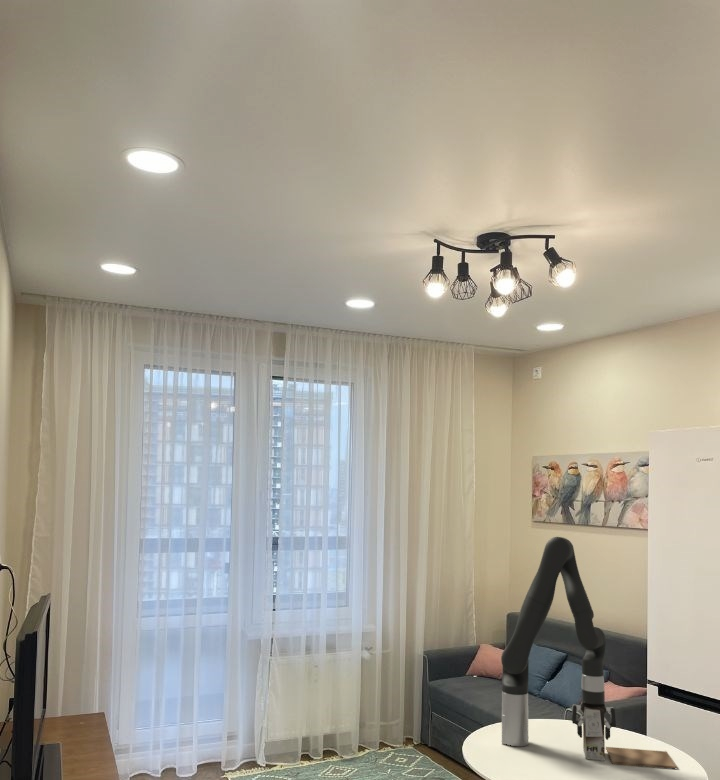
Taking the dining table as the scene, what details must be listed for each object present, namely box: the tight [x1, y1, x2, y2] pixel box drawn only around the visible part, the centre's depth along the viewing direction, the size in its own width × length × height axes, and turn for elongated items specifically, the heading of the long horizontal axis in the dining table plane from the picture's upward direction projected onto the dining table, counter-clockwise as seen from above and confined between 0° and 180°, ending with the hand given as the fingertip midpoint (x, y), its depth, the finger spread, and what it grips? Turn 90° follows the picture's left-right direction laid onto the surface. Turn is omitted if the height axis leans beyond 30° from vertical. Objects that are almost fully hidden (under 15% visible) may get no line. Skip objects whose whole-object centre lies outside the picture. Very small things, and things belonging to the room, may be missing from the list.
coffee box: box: [582, 707, 606, 762], centre depth 256 cm, size 9×6×16 cm
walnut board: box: [605, 746, 678, 769], centre depth 253 cm, size 20×15×1 cm
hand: (593, 738), depth 256 cm, fingers open, 8 cm apart
